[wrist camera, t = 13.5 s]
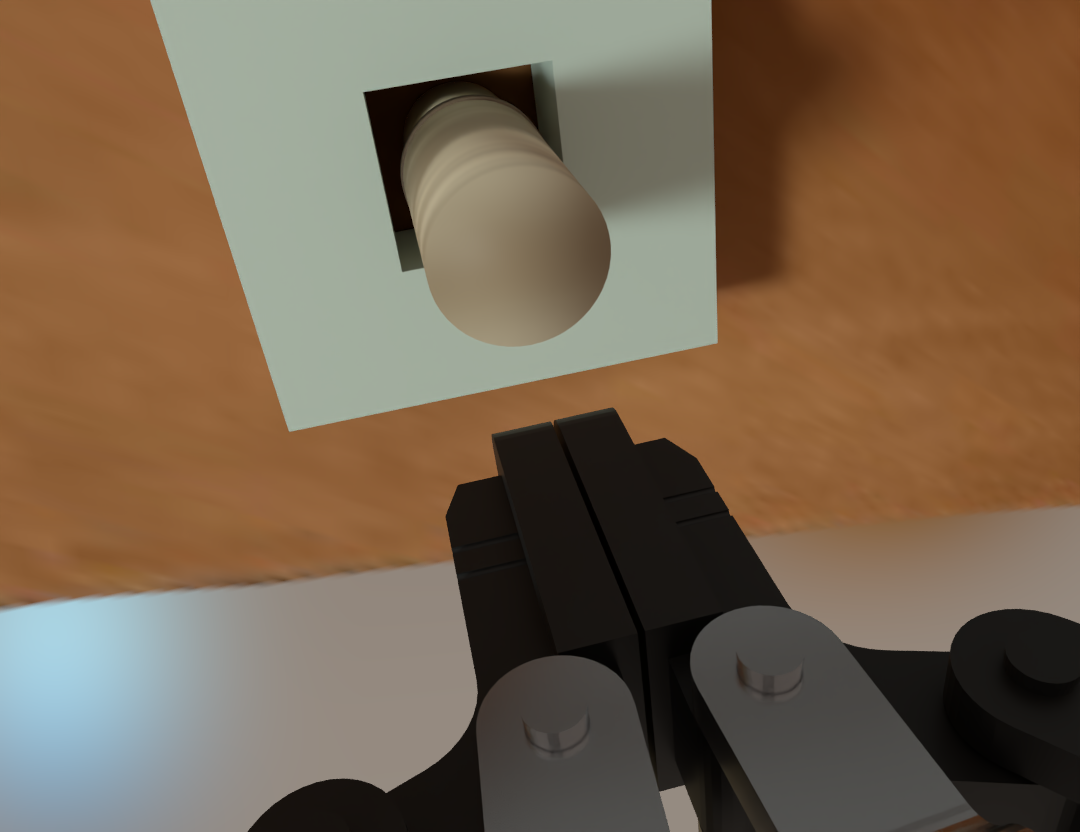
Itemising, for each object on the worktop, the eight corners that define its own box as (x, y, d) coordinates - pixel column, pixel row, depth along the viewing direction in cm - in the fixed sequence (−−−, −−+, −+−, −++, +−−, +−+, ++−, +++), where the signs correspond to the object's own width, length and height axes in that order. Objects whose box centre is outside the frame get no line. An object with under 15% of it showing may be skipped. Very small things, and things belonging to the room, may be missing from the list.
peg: (379, 82, 31) (405, 185, 21) (514, 60, 31) (605, 149, 21) (406, 215, 33) (442, 364, 23) (531, 192, 34) (619, 328, 24)
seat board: (151, -82, 27) (126, -76, 24) (663, -156, 29) (708, -161, 25) (292, 378, 36) (288, 431, 32) (682, 300, 37) (717, 342, 34)
